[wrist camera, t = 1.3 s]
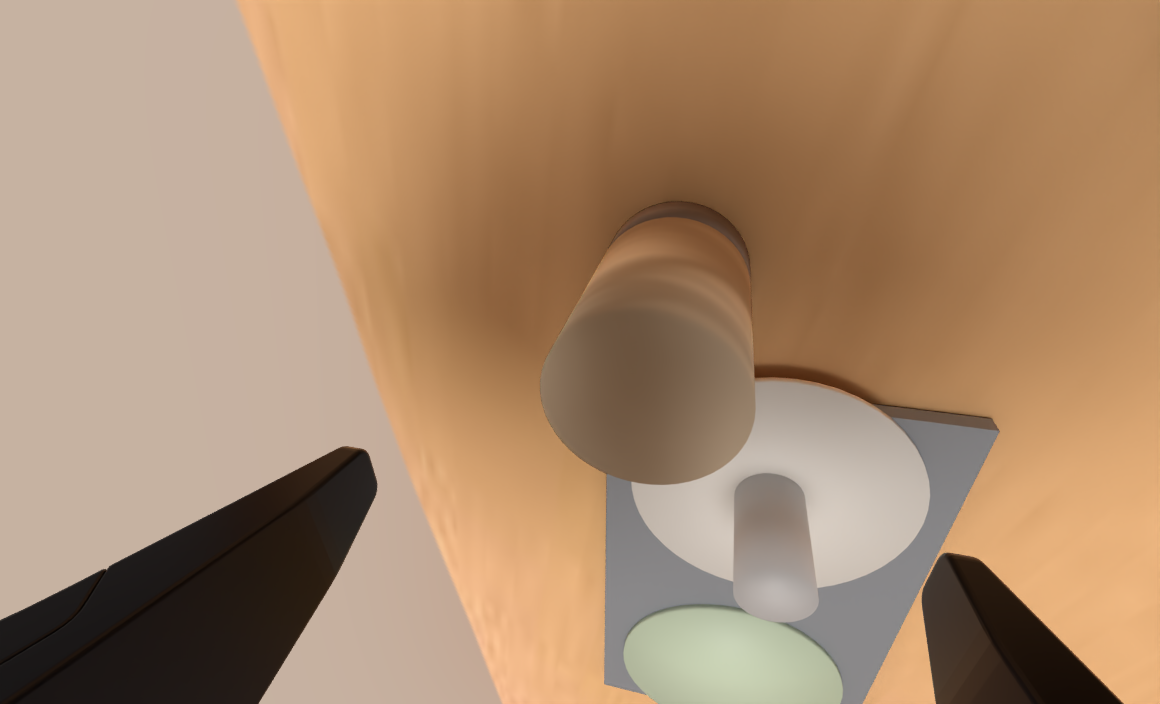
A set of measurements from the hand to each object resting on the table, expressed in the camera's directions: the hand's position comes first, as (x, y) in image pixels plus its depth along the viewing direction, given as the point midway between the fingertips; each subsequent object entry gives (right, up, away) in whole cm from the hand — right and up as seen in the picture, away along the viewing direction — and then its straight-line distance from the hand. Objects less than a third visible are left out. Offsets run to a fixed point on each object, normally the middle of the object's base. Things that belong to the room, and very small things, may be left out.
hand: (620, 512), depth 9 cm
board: (+7, -7, +15) cm, 18 cm away
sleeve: (+2, +5, +8) cm, 10 cm away
